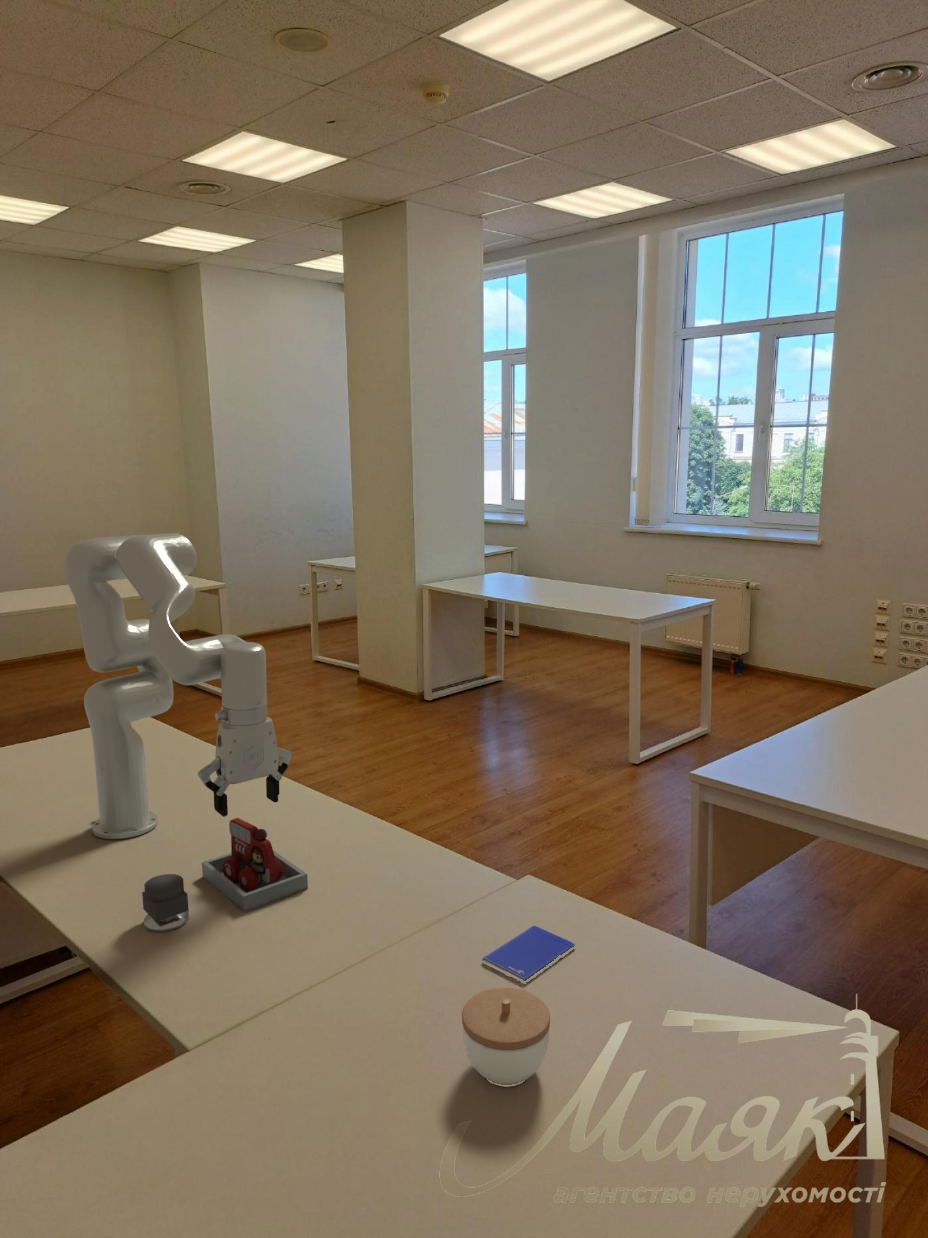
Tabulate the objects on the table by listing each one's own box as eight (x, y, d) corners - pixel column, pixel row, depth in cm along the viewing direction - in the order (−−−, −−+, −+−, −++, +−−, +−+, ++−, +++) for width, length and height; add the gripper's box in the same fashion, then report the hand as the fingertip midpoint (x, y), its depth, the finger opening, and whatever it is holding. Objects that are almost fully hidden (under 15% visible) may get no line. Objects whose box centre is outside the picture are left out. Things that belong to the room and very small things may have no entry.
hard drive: (525, 978, 122) (575, 943, 131) (482, 957, 128) (532, 924, 137) (524, 988, 123) (574, 952, 132) (482, 966, 128) (532, 933, 137)
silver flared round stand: (137, 920, 141) (135, 893, 140) (179, 905, 145) (177, 879, 144) (153, 937, 135) (151, 909, 134) (196, 922, 140) (194, 895, 139)
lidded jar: (484, 1113, 98) (484, 1040, 97) (448, 1055, 108) (448, 988, 106) (565, 1085, 103) (566, 1015, 101) (524, 1032, 112) (524, 967, 111)
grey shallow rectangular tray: (202, 876, 155) (201, 862, 155) (263, 856, 163) (262, 843, 162) (244, 912, 143) (243, 896, 142) (307, 888, 151) (307, 874, 150)
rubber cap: (140, 909, 140) (138, 881, 139) (176, 897, 144) (174, 870, 143) (154, 923, 136) (152, 895, 135) (191, 910, 139) (189, 883, 139)
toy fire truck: (257, 899, 146) (254, 842, 144) (217, 876, 155) (214, 822, 153) (290, 885, 151) (287, 829, 150) (250, 863, 160) (247, 811, 158)
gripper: (206, 729, 139) (210, 827, 142) (300, 710, 150) (301, 801, 154) (187, 718, 145) (191, 812, 148) (279, 700, 156) (281, 788, 159)
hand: (247, 806), depth 151 cm, fingers open, 9 cm apart
